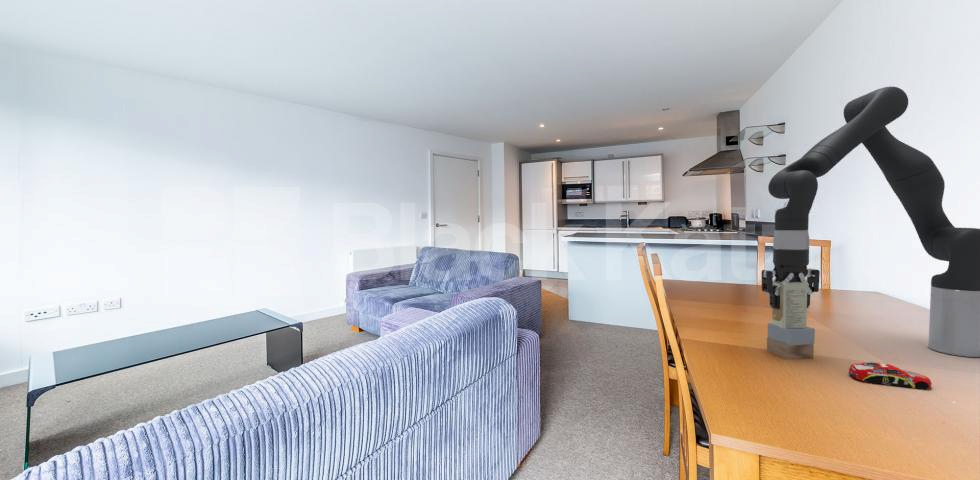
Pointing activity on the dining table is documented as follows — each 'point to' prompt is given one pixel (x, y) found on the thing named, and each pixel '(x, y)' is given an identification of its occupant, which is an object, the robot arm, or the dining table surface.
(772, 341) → the bottom block
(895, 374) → the race car
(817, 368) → the dining table surface
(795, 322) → the skincare box
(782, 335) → the top block
